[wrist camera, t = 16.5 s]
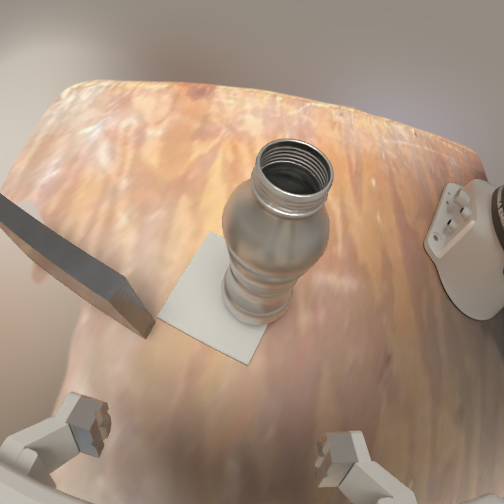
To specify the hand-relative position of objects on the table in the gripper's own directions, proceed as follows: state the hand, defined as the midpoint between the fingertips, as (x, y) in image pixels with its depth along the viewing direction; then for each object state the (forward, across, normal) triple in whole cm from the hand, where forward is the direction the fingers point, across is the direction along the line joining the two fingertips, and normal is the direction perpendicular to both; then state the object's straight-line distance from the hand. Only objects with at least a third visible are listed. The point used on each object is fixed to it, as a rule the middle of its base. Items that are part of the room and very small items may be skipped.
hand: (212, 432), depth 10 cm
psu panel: (+20, +16, +6) cm, 27 cm away
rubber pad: (+22, +1, +5) cm, 23 cm away
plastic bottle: (+22, -2, +5) cm, 22 cm away
